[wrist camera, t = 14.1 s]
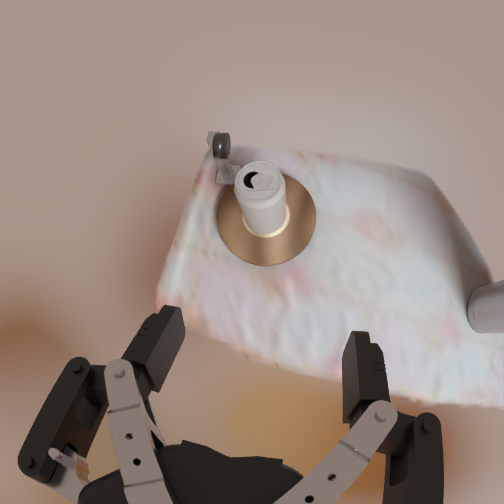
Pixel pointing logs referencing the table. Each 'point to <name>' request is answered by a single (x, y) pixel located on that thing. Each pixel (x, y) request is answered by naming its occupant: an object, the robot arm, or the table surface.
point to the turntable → (274, 244)
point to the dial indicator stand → (222, 158)
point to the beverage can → (261, 196)
